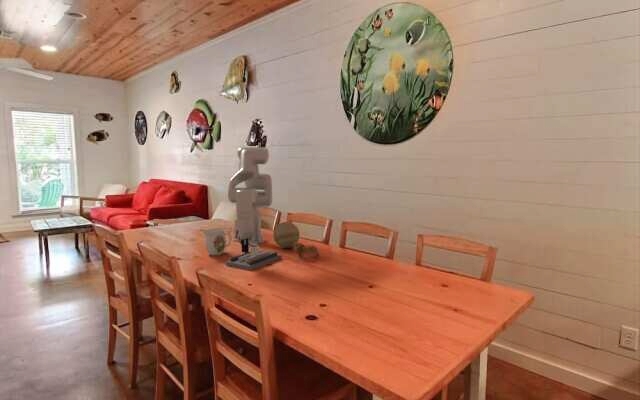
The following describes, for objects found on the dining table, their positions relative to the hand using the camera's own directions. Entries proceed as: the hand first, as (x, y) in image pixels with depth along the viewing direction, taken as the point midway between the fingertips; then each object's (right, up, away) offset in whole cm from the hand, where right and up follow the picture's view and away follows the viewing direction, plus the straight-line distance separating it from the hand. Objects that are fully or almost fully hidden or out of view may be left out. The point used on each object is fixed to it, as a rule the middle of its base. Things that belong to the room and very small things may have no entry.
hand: (245, 252), depth 187 cm
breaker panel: (+4, -6, +7) cm, 9 cm away
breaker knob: (+3, -4, +6) cm, 8 cm away
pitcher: (-20, -4, +23) cm, 30 cm away
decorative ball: (+17, -2, +36) cm, 40 cm away
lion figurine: (+29, -5, +13) cm, 33 cm away
